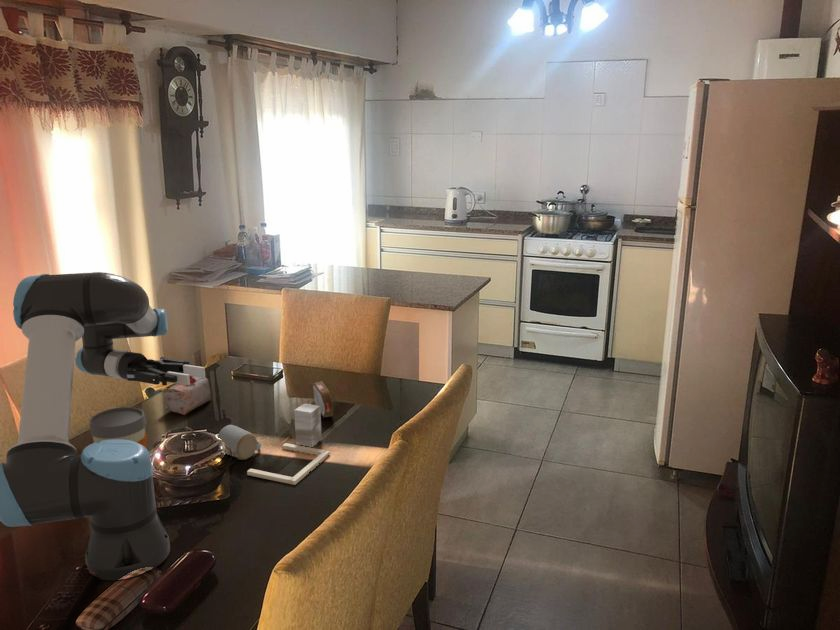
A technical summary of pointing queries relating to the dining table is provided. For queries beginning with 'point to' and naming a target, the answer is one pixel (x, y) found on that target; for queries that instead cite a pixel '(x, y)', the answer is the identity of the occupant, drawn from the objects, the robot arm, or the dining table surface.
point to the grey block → (307, 425)
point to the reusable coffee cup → (119, 425)
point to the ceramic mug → (239, 441)
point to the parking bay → (299, 475)
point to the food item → (187, 395)
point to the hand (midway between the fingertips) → (196, 376)
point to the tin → (323, 399)
